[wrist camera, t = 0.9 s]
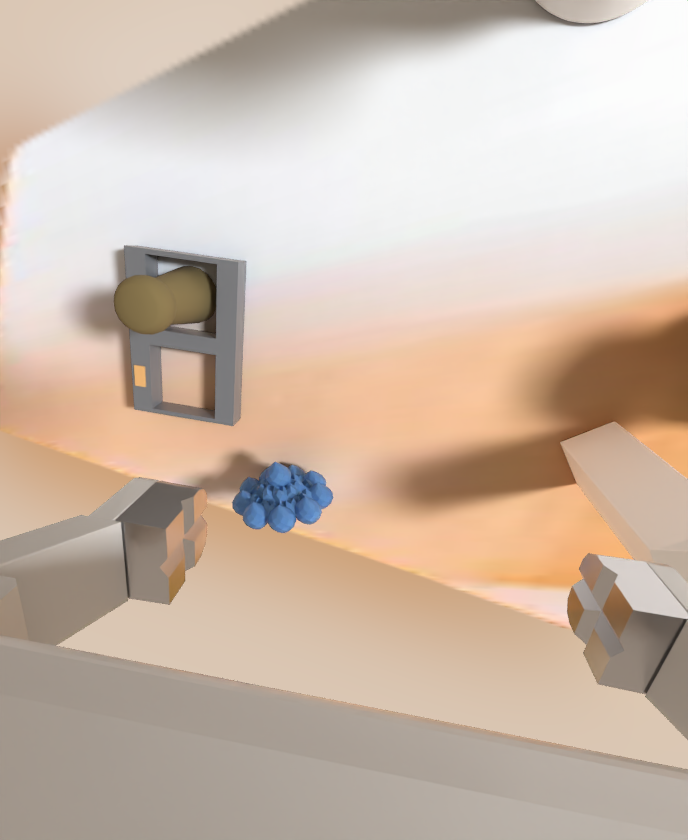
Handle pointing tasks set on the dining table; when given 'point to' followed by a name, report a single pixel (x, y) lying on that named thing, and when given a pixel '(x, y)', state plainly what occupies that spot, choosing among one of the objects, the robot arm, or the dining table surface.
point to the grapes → (282, 498)
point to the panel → (192, 340)
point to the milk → (633, 493)
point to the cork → (165, 300)
